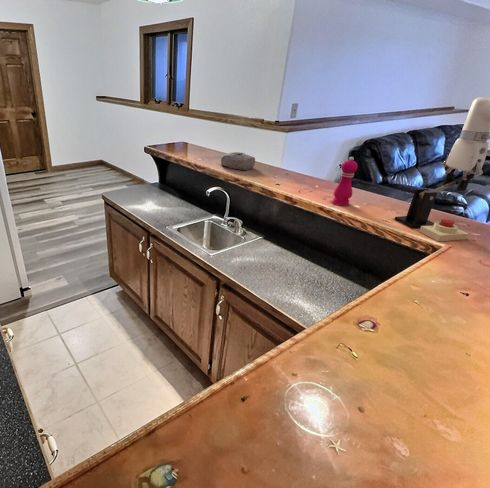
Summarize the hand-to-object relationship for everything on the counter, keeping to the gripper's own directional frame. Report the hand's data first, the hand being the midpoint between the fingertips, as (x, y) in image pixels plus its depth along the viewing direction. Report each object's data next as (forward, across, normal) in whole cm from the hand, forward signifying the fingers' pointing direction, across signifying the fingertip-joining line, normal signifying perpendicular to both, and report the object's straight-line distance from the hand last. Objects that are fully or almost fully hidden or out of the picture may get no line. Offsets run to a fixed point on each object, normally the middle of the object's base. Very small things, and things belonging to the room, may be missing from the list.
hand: (453, 187), depth 127 cm
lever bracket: (+14, 0, +11) cm, 17 cm away
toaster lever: (+2, 0, +5) cm, 5 cm away
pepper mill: (+14, +24, +26) cm, 38 cm away
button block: (+14, -11, +10) cm, 20 cm away
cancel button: (+10, -11, +10) cm, 18 cm away
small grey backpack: (+14, +91, +50) cm, 105 cm away
